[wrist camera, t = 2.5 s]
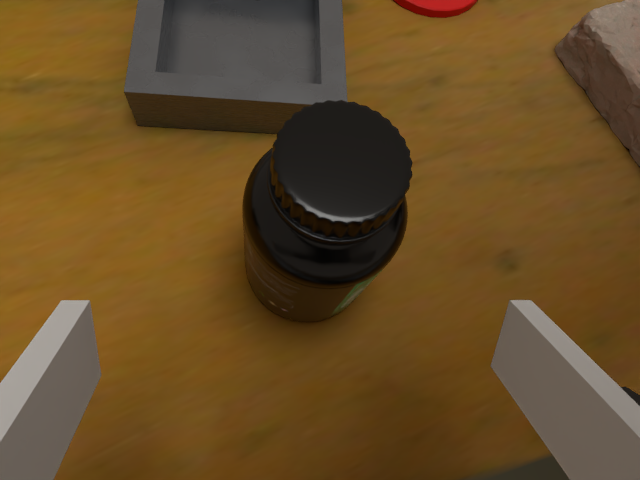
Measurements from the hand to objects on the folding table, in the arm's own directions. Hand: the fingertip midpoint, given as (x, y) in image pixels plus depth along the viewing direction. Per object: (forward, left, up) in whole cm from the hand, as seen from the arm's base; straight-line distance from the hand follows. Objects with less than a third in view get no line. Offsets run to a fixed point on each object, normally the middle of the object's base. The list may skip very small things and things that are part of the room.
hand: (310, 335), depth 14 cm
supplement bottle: (-1, -6, -11) cm, 12 cm away
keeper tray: (+3, -21, -10) cm, 23 cm away
